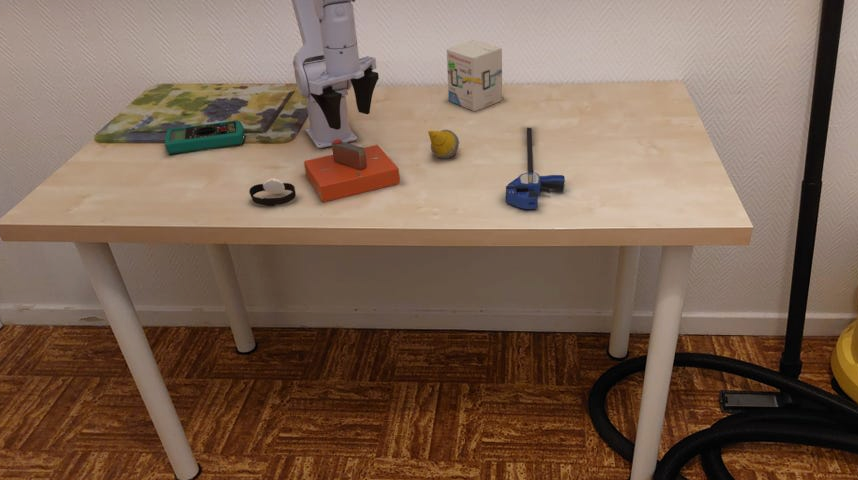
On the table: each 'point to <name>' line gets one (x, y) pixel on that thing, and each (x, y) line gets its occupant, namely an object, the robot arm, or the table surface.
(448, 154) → the yellow pointed rounded piece
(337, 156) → the grey block with button
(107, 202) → the table surface
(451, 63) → the ink box
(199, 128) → the digital multimeter
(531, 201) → the bar clamp
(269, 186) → the watch
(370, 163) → the orange block
